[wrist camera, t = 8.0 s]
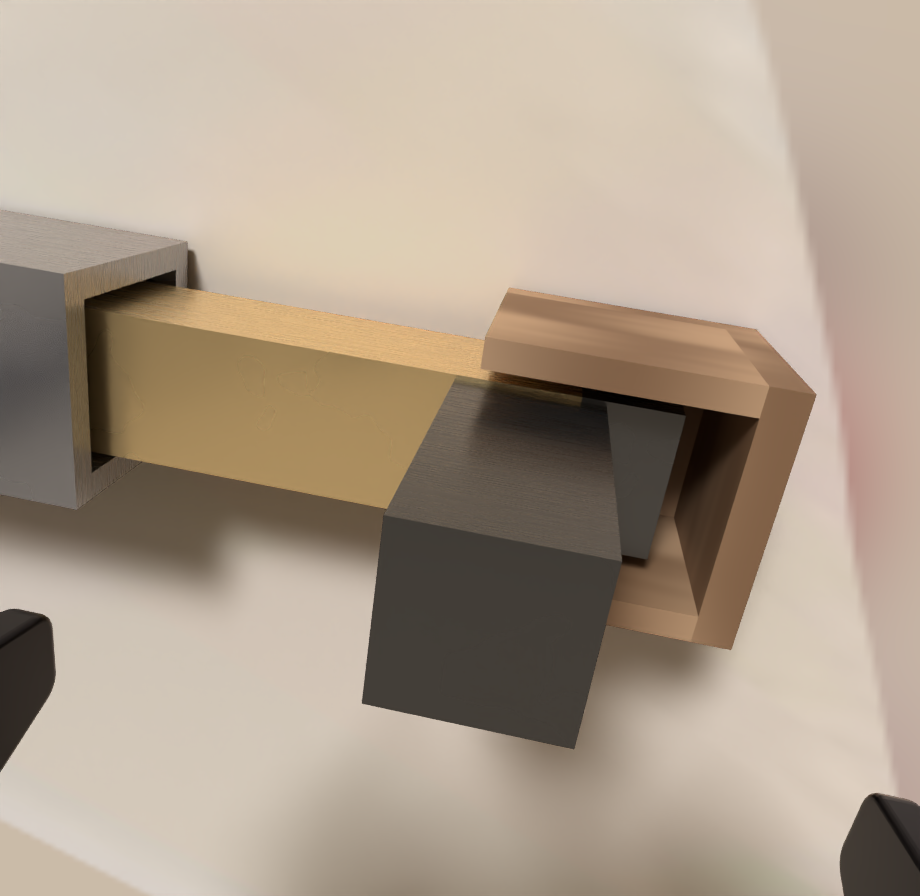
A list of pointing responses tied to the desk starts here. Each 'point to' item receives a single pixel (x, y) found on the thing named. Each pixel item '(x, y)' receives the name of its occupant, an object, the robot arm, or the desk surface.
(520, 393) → the slider
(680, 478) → the socket
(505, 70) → the desk surface
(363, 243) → the desk surface
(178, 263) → the sleeve
